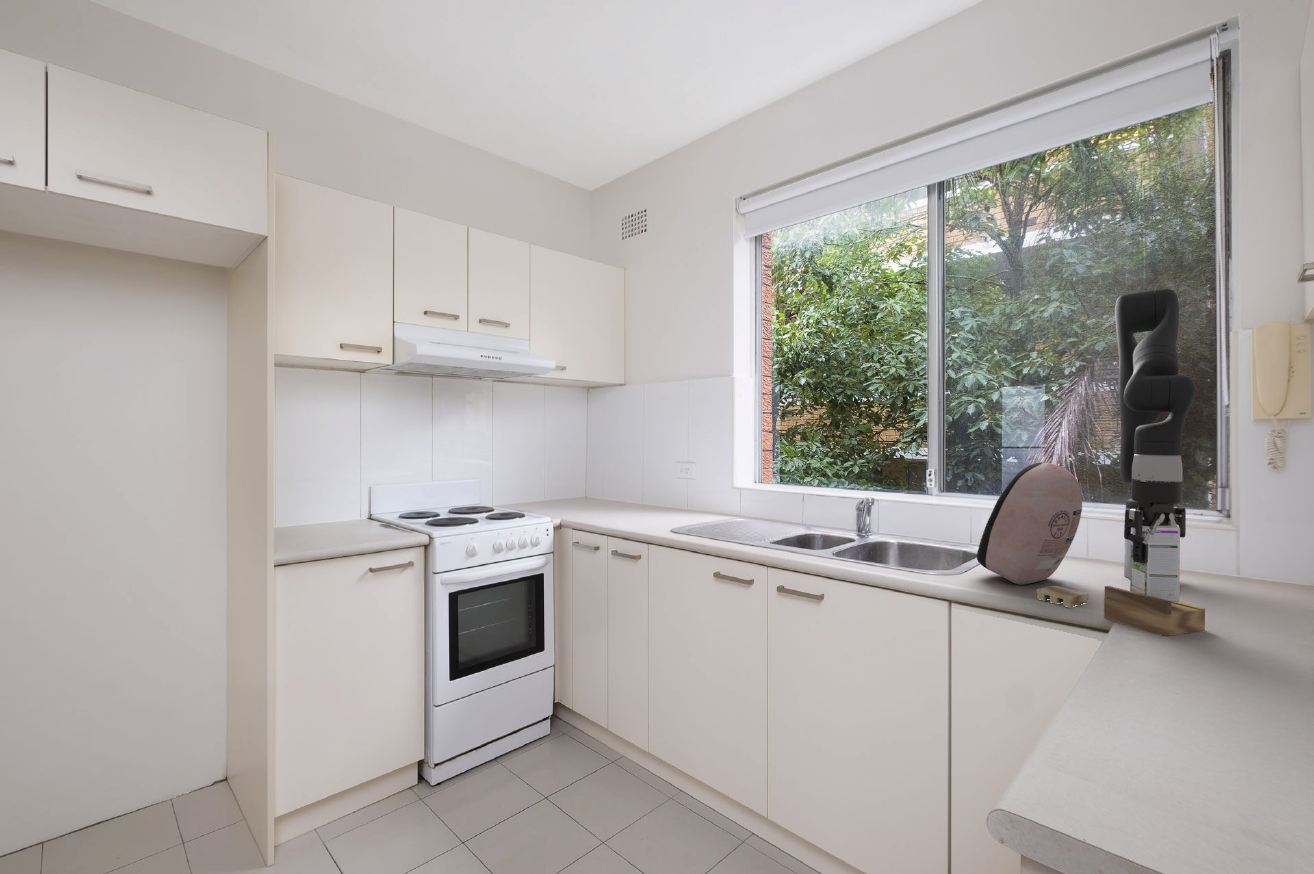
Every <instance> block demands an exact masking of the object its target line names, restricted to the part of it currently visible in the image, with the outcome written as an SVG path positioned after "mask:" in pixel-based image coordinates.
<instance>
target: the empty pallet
mask: <svg viewBox="0 0 1314 874" xmlns="http://www.w3.org/2000/svg"><path fill="white" fill-rule="evenodd" d="M1036 594H1037V598H1036V599H1041V600H1043V601H1042V602H1046V601H1045V600H1047V599H1050V600H1049V603H1050V602H1052V603H1056V604H1057V603H1061V602H1063V603H1062V606H1063V605H1064V606H1067V607H1066V608H1068V607H1069V608H1068V609H1072V608H1074V607H1073V606H1075V605H1080V606H1082V605H1081V604H1083V603H1087V604H1088V597H1089V593H1088V592H1085V591H1079V590H1075V589H1071V588H1066V587H1062V586H1058V585H1050V586H1046V587H1042V588H1037V589H1036ZM1052 603H1051V604H1052ZM1056 604H1055V605H1056ZM1064 606H1063V607H1064ZM1071 607H1072V608H1071Z"/></svg>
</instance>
